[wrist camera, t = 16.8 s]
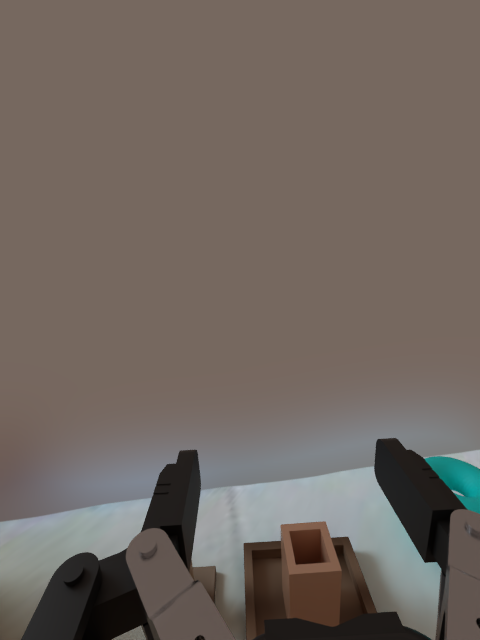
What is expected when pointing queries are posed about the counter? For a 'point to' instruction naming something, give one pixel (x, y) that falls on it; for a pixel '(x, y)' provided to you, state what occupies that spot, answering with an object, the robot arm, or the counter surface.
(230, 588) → the counter surface
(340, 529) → the counter surface
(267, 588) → the tray
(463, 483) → the donuts
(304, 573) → the sleeve
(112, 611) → the robot arm
